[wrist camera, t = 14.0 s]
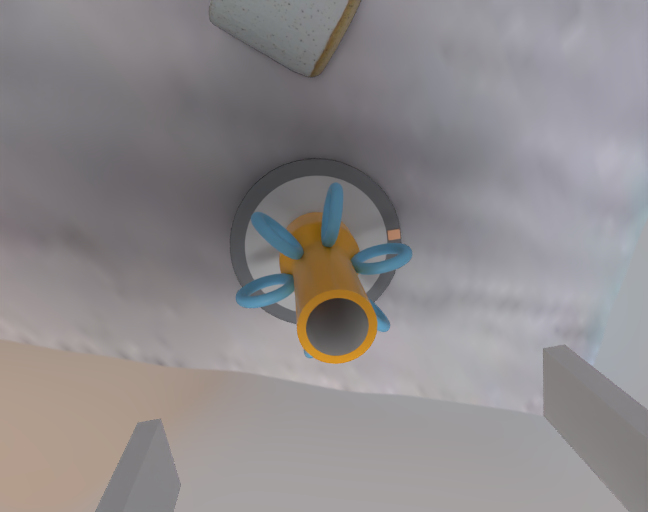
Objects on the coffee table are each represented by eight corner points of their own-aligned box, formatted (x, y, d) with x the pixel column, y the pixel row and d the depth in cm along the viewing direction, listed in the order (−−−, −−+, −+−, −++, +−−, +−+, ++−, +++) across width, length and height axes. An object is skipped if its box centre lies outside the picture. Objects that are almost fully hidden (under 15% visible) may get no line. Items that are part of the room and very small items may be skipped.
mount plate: (249, 332, 40) (248, 339, 38) (215, 173, 36) (212, 175, 34) (405, 305, 40) (409, 311, 39) (388, 145, 36) (392, 146, 35)
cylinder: (215, 247, 36) (170, 330, 22) (301, 147, 34) (313, 164, 20) (329, 336, 39) (355, 460, 25) (413, 247, 37) (493, 325, 23)
